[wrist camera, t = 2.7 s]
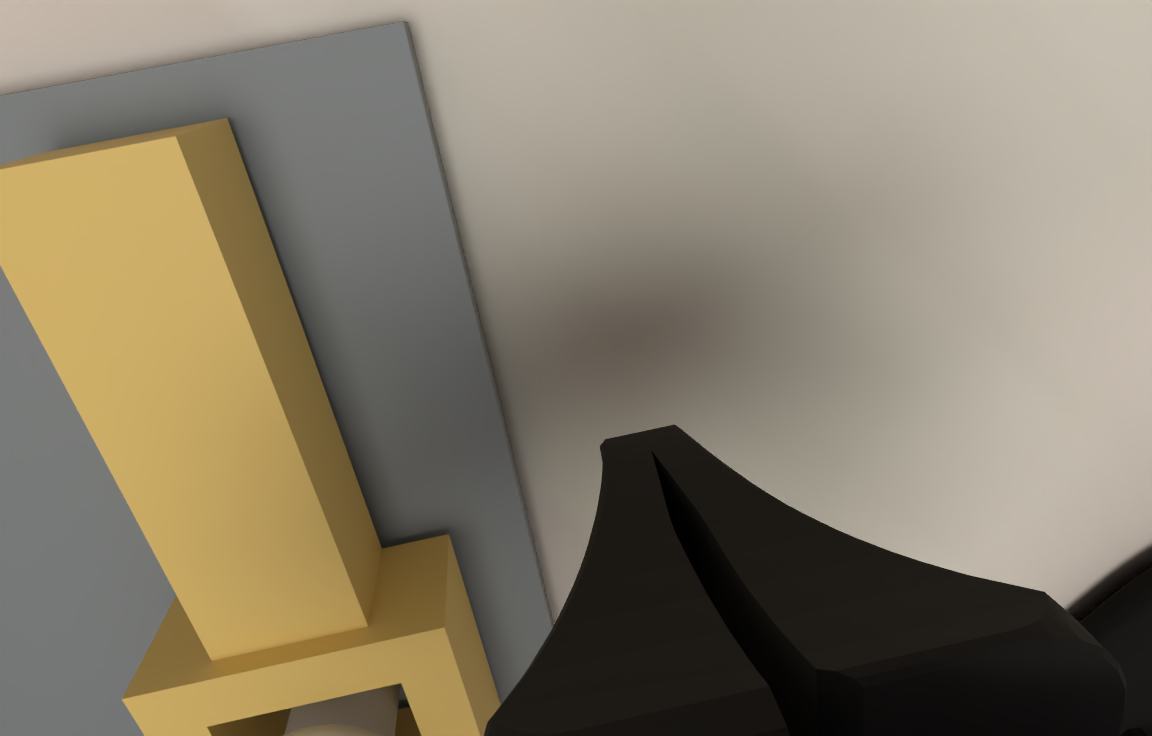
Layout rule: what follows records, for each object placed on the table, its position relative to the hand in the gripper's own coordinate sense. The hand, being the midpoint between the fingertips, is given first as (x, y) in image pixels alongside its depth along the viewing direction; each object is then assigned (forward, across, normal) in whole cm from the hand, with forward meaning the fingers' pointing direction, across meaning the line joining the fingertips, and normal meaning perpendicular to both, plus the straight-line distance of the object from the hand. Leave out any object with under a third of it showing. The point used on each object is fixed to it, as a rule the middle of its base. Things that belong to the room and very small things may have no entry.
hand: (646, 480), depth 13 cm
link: (+4, +8, +1) cm, 9 cm away
